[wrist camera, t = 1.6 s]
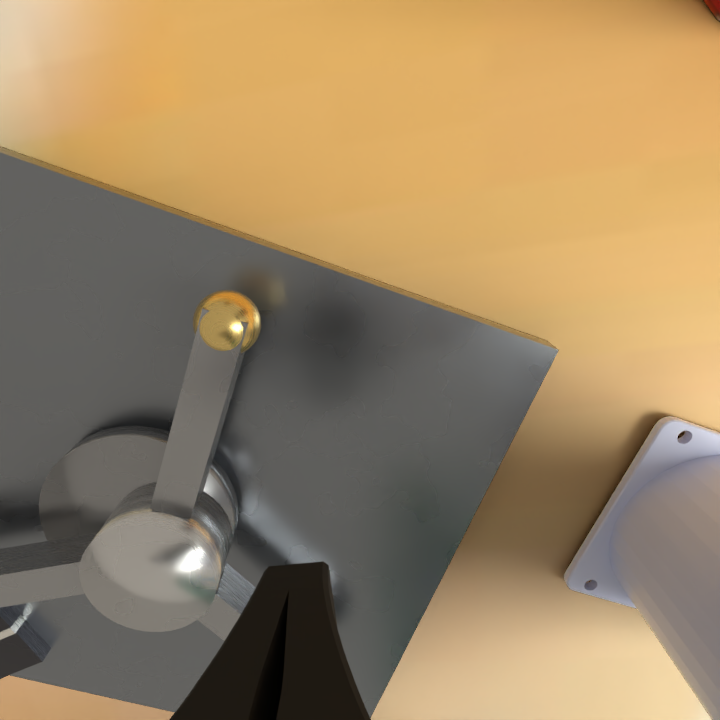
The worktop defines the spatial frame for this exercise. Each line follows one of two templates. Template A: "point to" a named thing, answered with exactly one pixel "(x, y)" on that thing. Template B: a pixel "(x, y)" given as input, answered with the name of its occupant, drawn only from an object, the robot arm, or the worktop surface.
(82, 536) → the capstan
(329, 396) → the plate
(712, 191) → the worktop surface
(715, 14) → the deodorant
